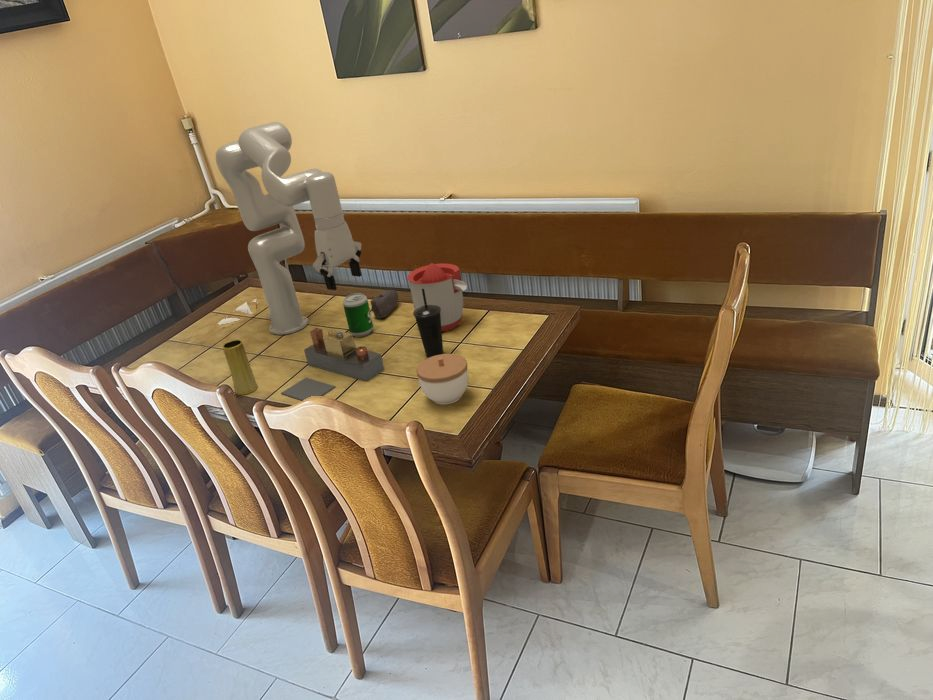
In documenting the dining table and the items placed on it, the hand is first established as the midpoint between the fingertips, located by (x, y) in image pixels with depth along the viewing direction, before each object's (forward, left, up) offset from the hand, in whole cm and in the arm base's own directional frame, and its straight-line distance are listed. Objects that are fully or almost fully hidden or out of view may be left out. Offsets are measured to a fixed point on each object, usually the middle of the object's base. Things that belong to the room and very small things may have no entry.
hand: (344, 282), depth 195 cm
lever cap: (-2, -5, -19) cm, 20 cm away
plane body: (-2, -5, -24) cm, 25 cm away
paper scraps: (-69, +8, -25) cm, 74 cm away
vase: (-20, -26, -25) cm, 41 cm away
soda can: (-14, +14, -25) cm, 32 cm away
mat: (-2, -19, -24) cm, 31 cm away
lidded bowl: (+36, -6, -25) cm, 44 cm away
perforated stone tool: (-17, +29, -25) cm, 42 cm away
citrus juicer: (+8, +28, -25) cm, 38 cm away
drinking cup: (+18, +11, -24) cm, 32 cm away
